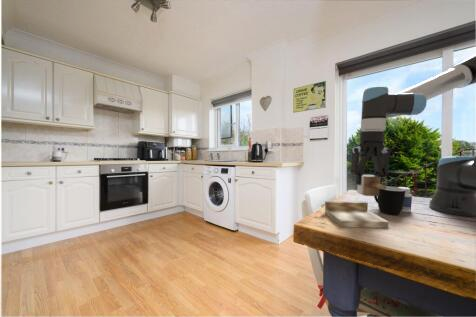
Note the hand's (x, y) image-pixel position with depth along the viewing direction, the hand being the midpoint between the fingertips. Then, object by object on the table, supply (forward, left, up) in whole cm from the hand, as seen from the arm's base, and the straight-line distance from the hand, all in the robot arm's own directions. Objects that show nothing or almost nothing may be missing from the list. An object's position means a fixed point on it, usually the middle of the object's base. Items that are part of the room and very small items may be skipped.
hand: (367, 193), depth 75 cm
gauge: (0, +3, 0) cm, 3 cm away
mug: (-13, -8, -10) cm, 18 cm away
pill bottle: (-21, -10, -10) cm, 25 cm away
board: (+6, +2, -10) cm, 11 cm away
